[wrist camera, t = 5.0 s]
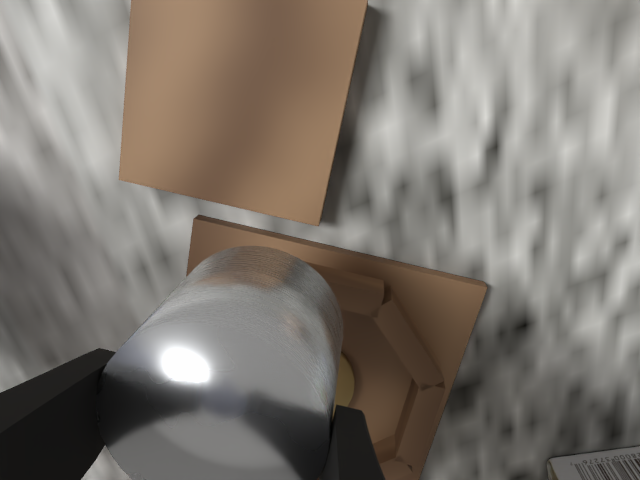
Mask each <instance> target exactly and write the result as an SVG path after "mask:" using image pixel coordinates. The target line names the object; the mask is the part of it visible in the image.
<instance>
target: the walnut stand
mask: <svg viewBox="0 0 640 480" xmlns="http://www.w3.org/2000/svg"><path fill="white" fill-rule="evenodd" d="M367 6H368V0H131V12H130V26H129V41H128V55H127V69H126V84H125V98H124V113H123V127H122V142H121V156H120V171H119V180H122V181H126V182H130V183H135V184H139V185H143V186H148V187H152V188H156V189H160V190H165V191H169V192H173V193H178V194H182V195H186V196H191V197H195V198H199V199H203V200H208V201H212V202H216V203H221V204H225V205H229V206H233V207H238V208H242V209H246V210H251V211H255V212H259V213H263V214H268V215H272V216H276V217H281V218H285V219H289V220H293V221H298V222H302V223H306V224H311V225H315V226H319V223H320V221H321V217H322V213H323V208H324V203H325V199H326V194H327V190H328V185H329V181H330V176H331V171H332V167H333V162H334V158H335V153H336V148H337V144H338V139H339V135H340V130H341V126H342V121H343V116H344V112H345V107H346V103H347V98H348V94H349V89H350V84H351V80H352V75H353V71H354V66H355V61H356V57H357V52H358V48H359V43H360V39H361V34H362V29H363V25H364V20H365V16H366V11H367Z"/></svg>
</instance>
